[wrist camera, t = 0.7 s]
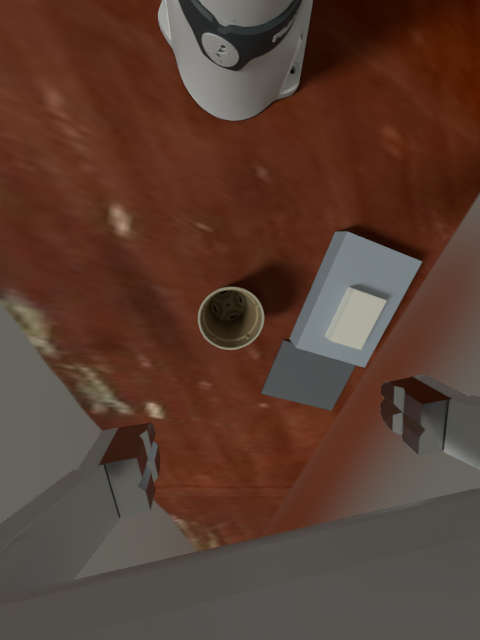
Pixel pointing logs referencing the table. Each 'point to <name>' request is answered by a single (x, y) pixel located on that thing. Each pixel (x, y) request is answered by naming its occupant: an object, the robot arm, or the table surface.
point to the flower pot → (221, 326)
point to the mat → (306, 377)
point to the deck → (358, 273)
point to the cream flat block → (354, 318)
